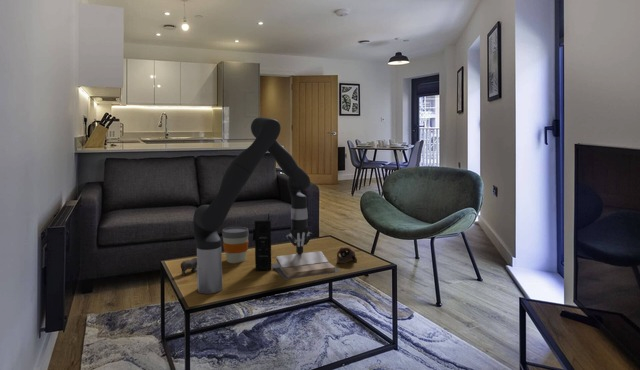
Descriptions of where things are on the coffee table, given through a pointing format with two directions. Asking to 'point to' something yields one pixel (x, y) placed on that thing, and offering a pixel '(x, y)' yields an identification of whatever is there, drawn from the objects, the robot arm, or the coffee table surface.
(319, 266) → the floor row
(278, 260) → the plank
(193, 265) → the rhino figurine
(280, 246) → the coffee table surface
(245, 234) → the reusable coffee cup
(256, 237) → the portable radio
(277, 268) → the underlay mat
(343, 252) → the pottery mug
